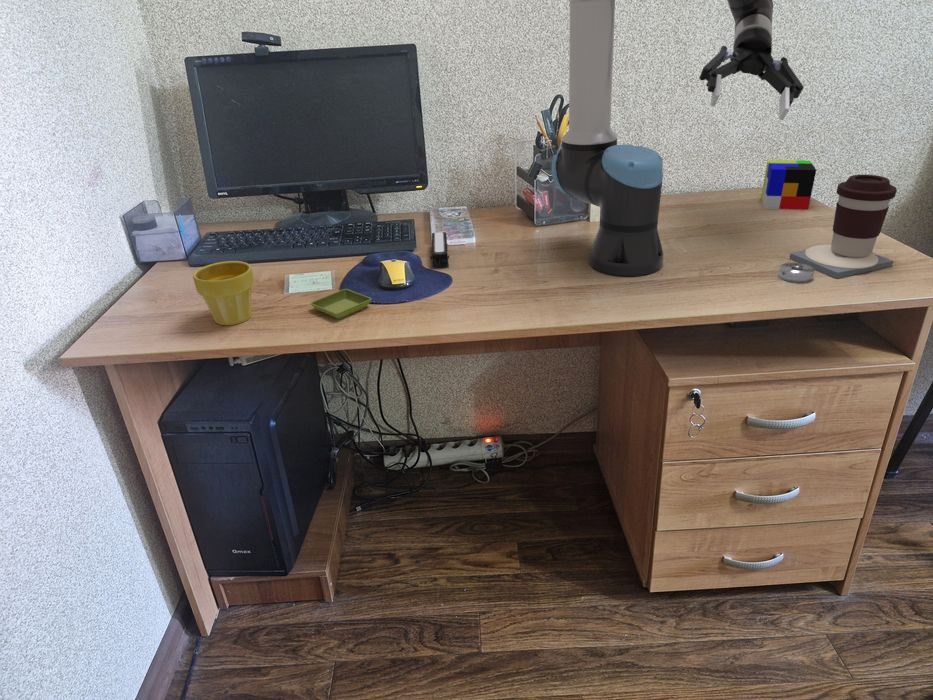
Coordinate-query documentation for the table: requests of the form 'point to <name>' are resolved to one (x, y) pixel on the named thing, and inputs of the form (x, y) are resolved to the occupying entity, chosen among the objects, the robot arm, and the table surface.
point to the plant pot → (226, 290)
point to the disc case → (839, 261)
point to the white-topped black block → (439, 251)
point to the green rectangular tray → (341, 303)
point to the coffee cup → (860, 214)
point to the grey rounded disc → (796, 272)
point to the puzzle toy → (788, 184)
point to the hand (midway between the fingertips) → (749, 107)
